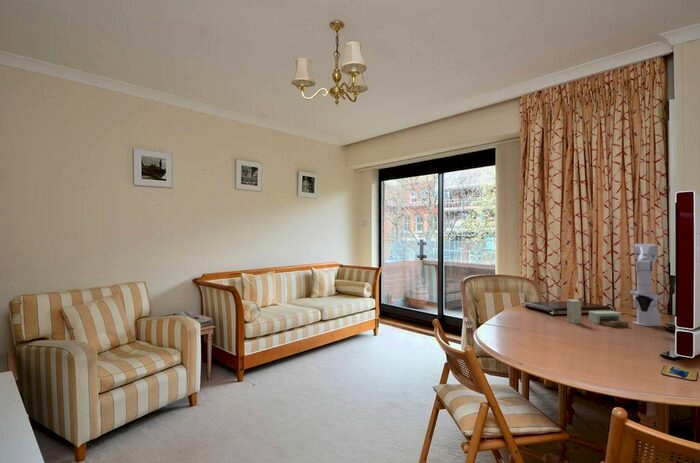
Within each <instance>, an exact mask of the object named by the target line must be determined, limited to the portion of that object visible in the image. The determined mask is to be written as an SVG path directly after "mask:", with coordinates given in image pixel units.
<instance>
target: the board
mask: <svg viewBox="0 0 700 463" xmlns="http://www.w3.org/2000/svg"><path fill="white" fill-rule="evenodd" d="M599 325H604V326H606V327H610V328H628V327H629V322H628V321H627V320H621V321H614V320H611V319H600V324H599Z"/></svg>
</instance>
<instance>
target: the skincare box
mask: <svg viewBox="0 0 700 463" xmlns="http://www.w3.org/2000/svg"><path fill="white" fill-rule="evenodd" d="M566 313H567V314H566V317H567V322H569V323H572V324H575V325H576V324H577V325H579V324H582V300H578V299H575V298H573V299H572V298H571V299H566Z"/></svg>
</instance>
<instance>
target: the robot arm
mask: <svg viewBox="0 0 700 463" xmlns="http://www.w3.org/2000/svg"><path fill="white" fill-rule="evenodd" d="M658 246H659V245H658V244H657V243H635V244H634V249H633V250H634V257H635V260H637V261H635V271H636V290H630V291H629V294H630V295H631V296H632V295H633V305H634V306H635V307H636V321H632V324H633V323H634V324H637V325H639V326H643V327H662V324H661V312H660V310H659V309H658V301H659V300H661V296H660V295H659V294H657V292H656V291H654V290H653V271H654V262H655V261H657V259H658V251H659V250H658V248H659V247H658Z"/></svg>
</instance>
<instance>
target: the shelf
mask: <svg viewBox="0 0 700 463" xmlns="http://www.w3.org/2000/svg"><path fill="white" fill-rule="evenodd" d="M600 319H611V320H614V321H622V313H621V312H618V311H616V310H589V311H588V322H589V323H593V324H596V325H601V324H600Z"/></svg>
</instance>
